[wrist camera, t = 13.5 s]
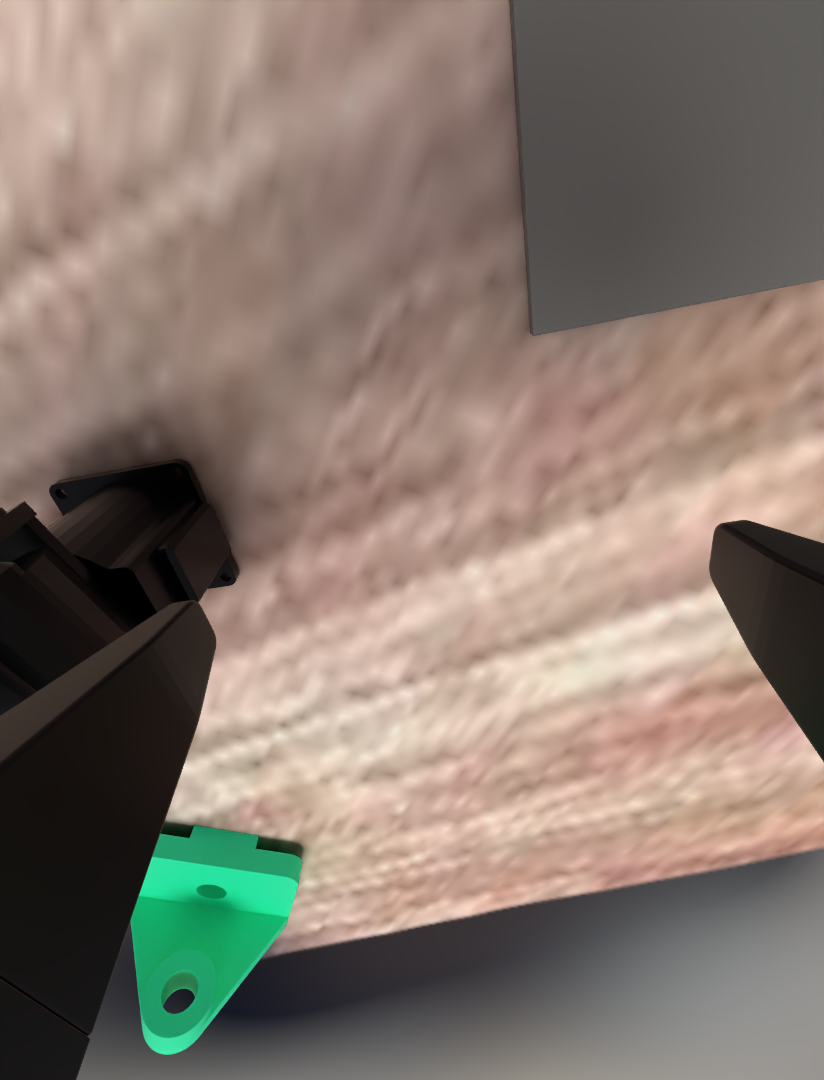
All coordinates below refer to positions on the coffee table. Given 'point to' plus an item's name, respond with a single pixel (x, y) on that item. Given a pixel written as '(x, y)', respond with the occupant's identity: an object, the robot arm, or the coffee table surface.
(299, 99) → the coffee table surface
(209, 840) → the camera mount
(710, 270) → the rubber mat
